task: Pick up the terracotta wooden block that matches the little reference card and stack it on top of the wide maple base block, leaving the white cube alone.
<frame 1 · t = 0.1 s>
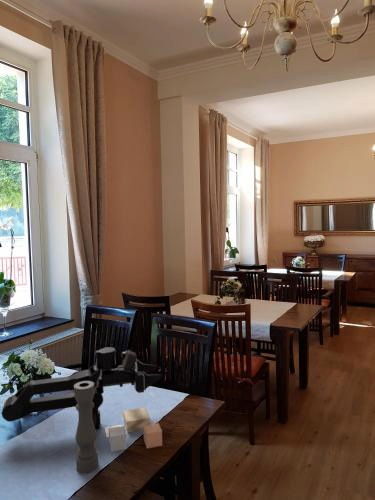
hand: (158, 371, 144), 17 cm above the table, tool horizontal, fingers open, 9 cm apart
white cube: (118, 446, 127), on the table
maple base block: (136, 425, 139), on the table
reference card: (114, 431, 135), on the table
candle holder: (87, 467, 116), on the table
terracotta block: (152, 443, 128), on the table
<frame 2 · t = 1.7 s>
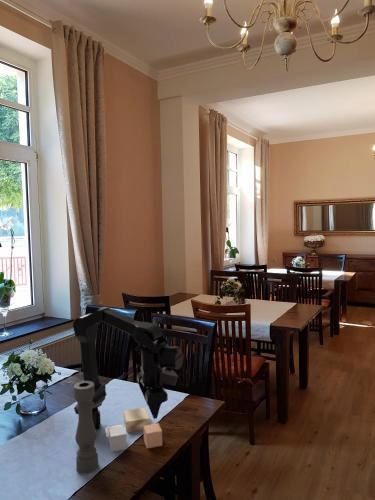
hand: (152, 411, 127), 10 cm above the table, tool pointing down, fingers open, 9 cm apart
nothing on the table moved.
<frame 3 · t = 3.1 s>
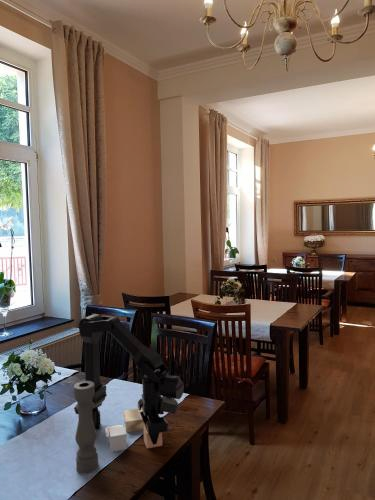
hand: (152, 439, 128), 1 cm above the table, tool pointing down, fingers closed on terracotta block, 5 cm apart
terracotta block: (152, 442, 128), on the table, touching gripper
everything else where it was.
when the fingers open (6 cm above the table, at t = 6.6 s): terracotta block drops 2 cm, point 4 cm above the table.
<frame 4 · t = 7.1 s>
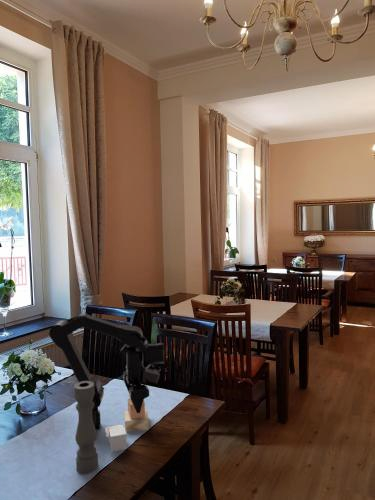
hand: (136, 406, 139), 6 cm above the table, tool pointing down, fingers open, 9 cm apart
terracotta block: (136, 414, 139), point 4 cm above the table
everything else where it was.
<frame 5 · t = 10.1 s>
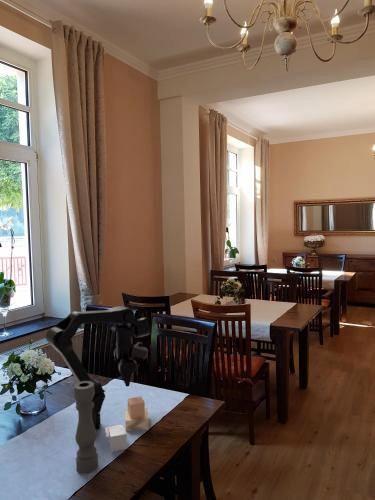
hand: (125, 381, 147), 12 cm above the table, tool pointing down, fingers open, 9 cm apart
maple base block: (137, 424, 140), on the table, touching terracotta block
terracotta block: (136, 414, 139), point 4 cm above the table, touching maple base block
everything else where it was.
at the end: terracotta block 0.2 cm off-centre on the maple base block, point 4.0 cm above the maple base block's base; terracotta block tilted 0°; white cube moved 0.1 cm from its start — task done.
